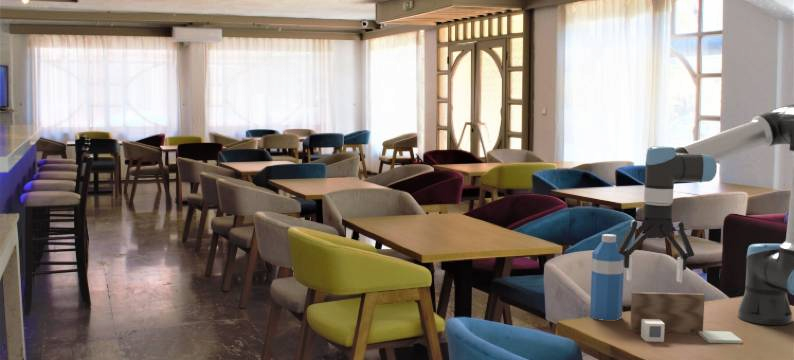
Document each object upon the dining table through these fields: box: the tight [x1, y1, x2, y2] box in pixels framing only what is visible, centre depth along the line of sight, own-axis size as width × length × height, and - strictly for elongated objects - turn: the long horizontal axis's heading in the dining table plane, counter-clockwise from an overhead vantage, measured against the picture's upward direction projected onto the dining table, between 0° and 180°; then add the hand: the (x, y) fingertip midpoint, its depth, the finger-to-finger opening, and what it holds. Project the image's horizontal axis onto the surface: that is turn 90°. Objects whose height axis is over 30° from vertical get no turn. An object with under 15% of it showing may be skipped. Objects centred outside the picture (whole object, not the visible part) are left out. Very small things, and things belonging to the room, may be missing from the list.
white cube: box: [640, 319, 665, 343], centre depth 240 cm, size 5×5×5 cm
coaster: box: [698, 330, 743, 344], centre depth 242 cm, size 9×9×1 cm
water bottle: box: [589, 233, 625, 321], centre depth 263 cm, size 9×9×25 cm
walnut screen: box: [629, 291, 705, 335], centre depth 248 cm, size 20×4×11 cm, turn 88°
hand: (653, 280), depth 239 cm, fingers open, 13 cm apart
